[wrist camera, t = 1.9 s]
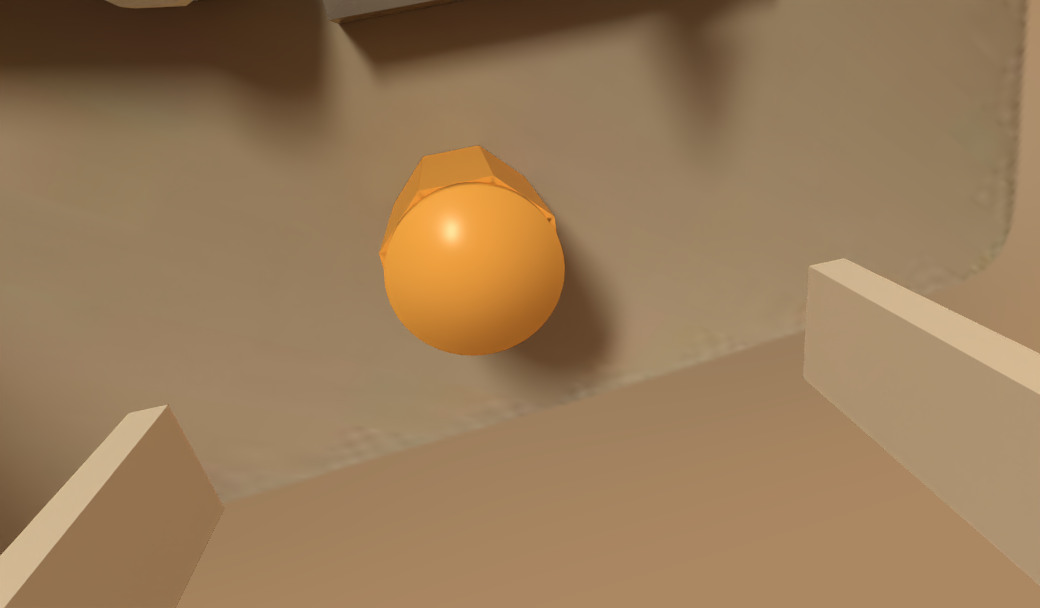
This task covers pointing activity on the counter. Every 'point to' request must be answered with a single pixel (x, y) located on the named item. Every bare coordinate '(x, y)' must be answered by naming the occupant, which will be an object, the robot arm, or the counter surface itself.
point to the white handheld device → (149, 3)
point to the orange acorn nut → (471, 254)
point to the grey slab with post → (372, 8)
